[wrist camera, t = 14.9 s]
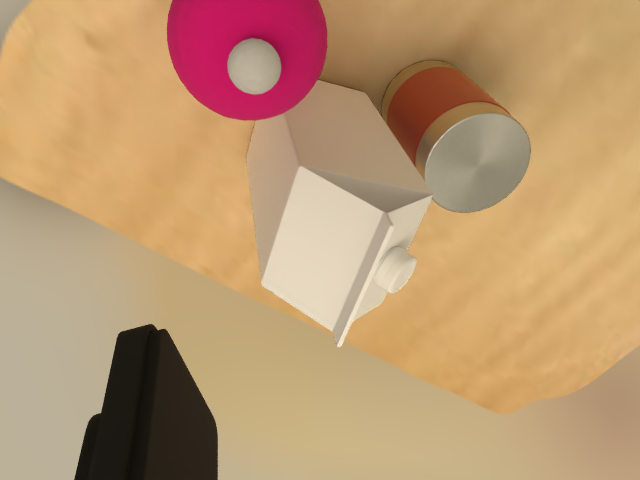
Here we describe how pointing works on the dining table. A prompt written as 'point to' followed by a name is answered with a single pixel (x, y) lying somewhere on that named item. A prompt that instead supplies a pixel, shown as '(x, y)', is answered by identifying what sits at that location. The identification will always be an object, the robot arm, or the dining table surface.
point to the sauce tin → (456, 136)
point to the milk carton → (333, 206)
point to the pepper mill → (247, 53)
